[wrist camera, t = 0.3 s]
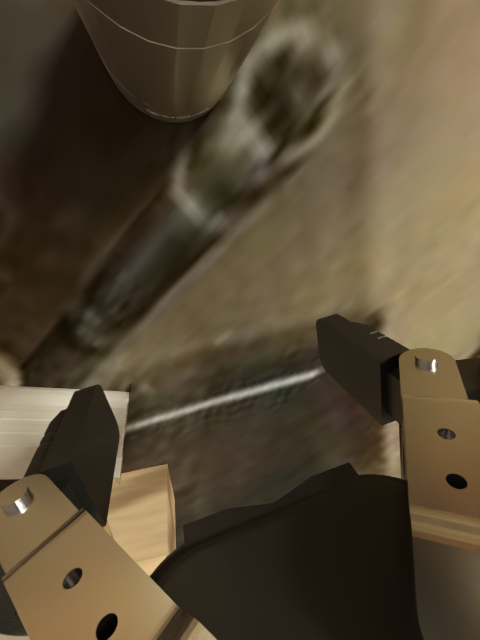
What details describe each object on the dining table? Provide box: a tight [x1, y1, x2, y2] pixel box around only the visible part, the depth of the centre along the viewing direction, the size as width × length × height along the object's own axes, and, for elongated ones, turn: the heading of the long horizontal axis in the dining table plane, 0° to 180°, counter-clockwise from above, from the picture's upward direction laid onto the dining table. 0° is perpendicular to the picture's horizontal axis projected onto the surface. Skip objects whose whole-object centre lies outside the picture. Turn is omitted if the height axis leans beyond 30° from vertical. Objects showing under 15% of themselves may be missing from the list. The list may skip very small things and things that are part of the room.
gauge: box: [102, 464, 176, 576], centre depth 29 cm, size 18×12×11 cm, turn 3°
